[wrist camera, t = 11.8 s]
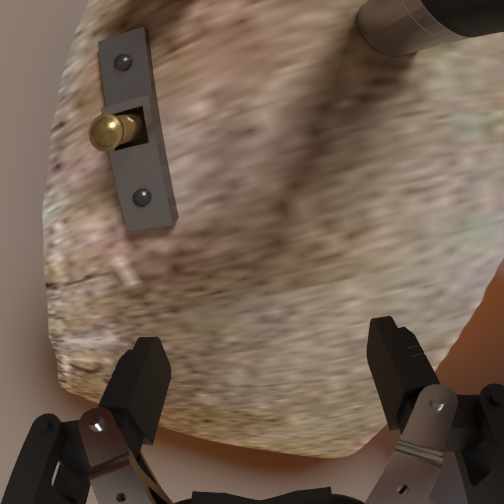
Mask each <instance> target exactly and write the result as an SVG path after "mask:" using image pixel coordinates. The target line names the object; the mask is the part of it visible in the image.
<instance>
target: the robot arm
mask: <svg viewBox="0 0 504 504" xmlns="http://www.w3.org/2000/svg"><path fill="white" fill-rule="evenodd" d="M358 26H359V30H360V32H361V34H362V36H363V37H364V39H365V40H366V41H367V43H368V44H369V45H371V46H372V47H373V48H374V49H376V50H377V51H379V52H381V53H383V54H385V55H389V56H403V55H406V54H409V53H413V52H417V51H420V50H424V49H427V48H431V47H435V46H439V45H443V44H447V43H451V42H455V41H459V40H463V39H468V38H473V37H478V36H483V35H487V34H493V33H499V32H504V0H368V1H367V2H366V3H365V4H364V5H363V6H362V7H361V8H360V11H359V13H358ZM367 361H368V365H369V367H370V370H371V373H372V376H373V379H374V382H375V385H376V388H377V391H378V394H379V397H380V400H381V404H382V407H383V410H384V413H385V416H386V419H387V423H388V426H389V429H390V431H392V430H396V429H400V432H401V438H400V440H399V442H398V444H397V446H396V448H395V450H394V452H393V454H392V456H391V458H390V460H389V462H388V464H387V465H386V467H385V469H384V471H383V473H382V475H381V476H380V478H379V480H378V482H377V483H376V485H375V487H374V489H373V490H372V492H371V494H370V495H369V497H368V498H367V500H366V502H365V503H364V502H362V501H360V500H357V499H355V498H352V497H348V496H345V495H339V494H332V493H331V487H326V488H317V489H309V490H300V491H294V492H291V493H287V494H284V495H280V496H277V497H273V498H269V499H265V500H254V499H249V498H245V497H240V496H236V495H231V494H227V493H213V492H196V491H193V492H192V499H186V500H182V501H179V502H176V503H174V504H425V503H426V500H427V498H428V496H429V494H430V492H431V489H432V487H433V485H434V483H435V480H436V478H437V475H438V473H439V470H440V468H441V465H442V462H443V457H442V453H443V452H453V451H454V453H455V456H456V459H457V463H458V466H459V470H460V473H461V477H462V481H463V485H464V488H465V492H466V496H467V501H468V504H504V386H503V385H501V384H489V385H487V386H486V387H484V388H483V389H482V391H481V393H480V394H479V395H457V394H455V392H454V391H453V390H452V389H451V388H449V387H447V386H445V385H441V384H440V382H439V380H438V378H437V376H436V374H435V372H434V370H433V368H432V366H431V364H430V363H429V361H428V359H427V357H426V355H425V354H424V351H423V349H422V348H421V346H420V344H419V342H418V340H417V338H416V337H415V335H414V334H413V333H412V332H411V331H409V330H408V329H407V328H406V327H401V328H397V326H396V324H395V322H394V320H393V318H392V317H391V316H385V317H379V318H372V319H371V321H370V327H369V335H368V343H367ZM170 380H171V367H170V363H169V361H168V358H167V356H166V353H165V351H164V348H163V346H162V343H161V341H160V339H159V338H158V337H139V338H138V339H137V341H136V344H135V346H134V348H133V350H128V351H127V352H126V353H125V354H124V355H123V356H122V357H121V358H120V359H119V361H118V363H117V365H116V367H115V370H114V372H113V374H112V378H110V381H109V383H108V385H107V387H106V389H105V392H104V394H103V396H102V398H101V401H100V403H99V406H98V407H95V408H91V409H89V410H88V411H86V412H85V413H84V414H83V415H82V416H81V418H80V420H77V421H68V422H61V421H60V420H59V418H58V417H57V416H56V415H54V414H43V415H41V416H39V417H38V418H37V419H36V420H35V421H34V422H33V424H32V426H31V428H30V431H29V433H28V435H27V437H26V440H25V442H24V444H23V447H22V449H21V451H20V454H19V456H18V459H17V461H16V464H15V466H14V469H13V471H12V474H11V476H10V479H9V482H8V485H7V487H6V490H5V493H4V496H3V499H2V502H1V504H86V501H87V497H88V493H89V489H90V485H91V486H92V489H93V491H94V493H95V496H96V499H97V501H98V503H99V504H173V502H172V501H171V500H170V498H169V497H168V496H167V495H166V493H165V492H164V491H163V489H162V488H161V486H160V484H159V483H158V481H157V479H156V478H155V476H154V474H153V472H152V471H151V469H150V467H149V465H148V464H147V462H146V460H145V458H144V456H143V454H142V453H141V451H140V450H141V447H142V444H148V445H153V442H154V438H155V434H156V430H157V427H158V423H159V419H160V416H161V412H162V408H163V405H164V401H165V397H166V394H167V390H168V387H169V383H170ZM58 462H59V463H60V465H59V468H58V471H57V475H56V477H55V480H54V484H53V487H52V477H53V474H54V472H55V469H56V465H57V463H58Z"/></svg>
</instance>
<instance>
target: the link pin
mask: <svg viewBox="0 0 504 504" xmlns="http://www.w3.org/2000/svg"><path fill="white" fill-rule="evenodd" d="M146 134H147V129H146V123H145V117H144V115H142V114H128V115H117V116H116V115H114V114H103V115H100V116H98V117H97V118H95V119H94V121H93V122H92V123H91V126H90V129H89V138H90V141H91V143H92V145H93V146H94V147H95V148H96V149H98V150H100V151H109V150H112V149H114V148H116V147H117V146H119V144H123V143H126V142H129V141H133V140H136V139H140V138H142V137H144V136H145V135H146Z"/></svg>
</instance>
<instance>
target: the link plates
mask: <svg viewBox="0 0 504 504" xmlns="http://www.w3.org/2000/svg"><path fill="white" fill-rule="evenodd" d="M98 46H99V57H100V66H101V75H102V83H103V90H104V97H105V104H106V107H105V108H102V109H101V113H102V115H103V114H114V115H116V116H117V115H119V114H121V113H125V112H128V111H132V110H136V109H140V108H143V111H144V117H145V123H146V129H147V135H148V141H149V142H146V143H142V144H138V145H133V146H129V147H125V148H124V143H123V144H119V146H117V147H116V148H114V149H112V150H109V151H108V152H109V157H110V161H111V166H112V171H113V175H114V180H115V184H116V189H117V193H118V197H119V201H120V205H121V209H122V213H123V217H124V221H125V224H126V228H127V232H129V231H136V230H143V229H150V228H157V227H165V226H172V225H174V223H175V222H176V220H177V219H178V218H179V217H178V212H177V207H176V202H175V197H174V193H173V188H172V183H171V177H170V172H169V167H168V162H167V156H166V151H165V145H164V139H163V134H162V128H161V122H160V115H159V109H158V103H157V96H156V89H155V82H154V75H153V67H152V60H151V52H150V43H149V34H148V29H147V28H146V27H141V28H137V29H134V30H131V31H128V32H125V33H122V34H119V35H116V36H113V37H111V38H108V39H105V40H103V41H100V42H98Z"/></svg>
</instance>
